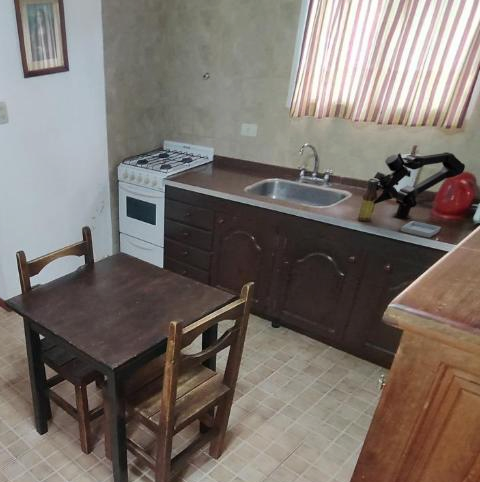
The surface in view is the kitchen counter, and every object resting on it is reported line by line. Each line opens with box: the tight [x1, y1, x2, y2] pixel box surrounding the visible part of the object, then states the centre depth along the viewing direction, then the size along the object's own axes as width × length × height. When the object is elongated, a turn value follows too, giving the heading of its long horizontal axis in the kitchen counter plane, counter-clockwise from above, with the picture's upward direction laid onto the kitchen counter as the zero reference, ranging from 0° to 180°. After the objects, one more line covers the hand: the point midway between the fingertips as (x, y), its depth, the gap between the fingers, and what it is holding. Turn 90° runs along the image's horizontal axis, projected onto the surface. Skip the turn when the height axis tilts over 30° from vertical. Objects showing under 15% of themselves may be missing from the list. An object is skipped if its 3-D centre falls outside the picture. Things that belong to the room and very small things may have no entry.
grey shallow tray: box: [400, 220, 442, 239], centre depth 233 cm, size 12×13×2 cm
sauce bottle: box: [357, 179, 380, 222], centre depth 244 cm, size 7×6×20 cm
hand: (368, 200), depth 244 cm, fingers open, 9 cm apart
